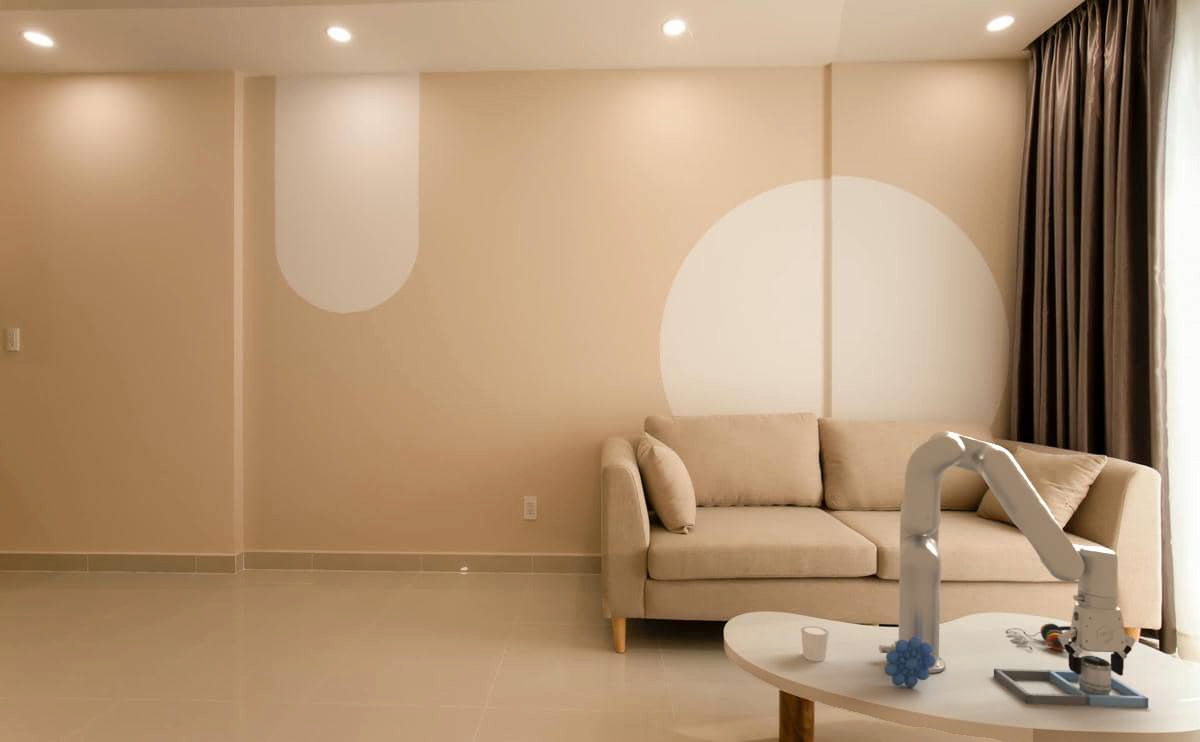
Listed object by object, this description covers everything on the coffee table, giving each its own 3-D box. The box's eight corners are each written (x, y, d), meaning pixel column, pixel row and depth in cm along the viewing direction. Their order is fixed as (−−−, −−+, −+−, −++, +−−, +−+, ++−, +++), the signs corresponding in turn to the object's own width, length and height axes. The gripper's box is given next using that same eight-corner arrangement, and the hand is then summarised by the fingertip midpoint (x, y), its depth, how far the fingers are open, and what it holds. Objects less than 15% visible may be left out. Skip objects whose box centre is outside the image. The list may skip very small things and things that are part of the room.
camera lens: (1088, 684, 169) (1089, 651, 169) (1116, 695, 163) (1117, 662, 163) (1072, 688, 166) (1072, 655, 166) (1100, 700, 160) (1100, 666, 160)
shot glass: (799, 660, 180) (799, 633, 180) (802, 650, 186) (802, 624, 186) (827, 664, 177) (827, 637, 177) (829, 654, 184) (829, 628, 184)
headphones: (999, 620, 204) (1077, 613, 198) (1004, 638, 204) (1082, 632, 198) (1012, 641, 188) (1098, 635, 182) (1017, 661, 188) (1103, 655, 182)
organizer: (1027, 703, 158) (1027, 695, 158) (993, 676, 172) (993, 668, 172) (1148, 707, 157) (1148, 698, 157) (1104, 679, 171) (1104, 671, 171)
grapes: (926, 679, 170) (927, 630, 170) (939, 692, 163) (940, 641, 163) (878, 677, 170) (879, 628, 170) (888, 690, 163) (889, 639, 163)
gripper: (1070, 604, 161) (1069, 678, 161) (1146, 606, 161) (1145, 680, 161) (1050, 594, 168) (1048, 664, 169) (1122, 596, 168) (1121, 666, 168)
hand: (1095, 672), depth 165 cm, fingers open, 9 cm apart
